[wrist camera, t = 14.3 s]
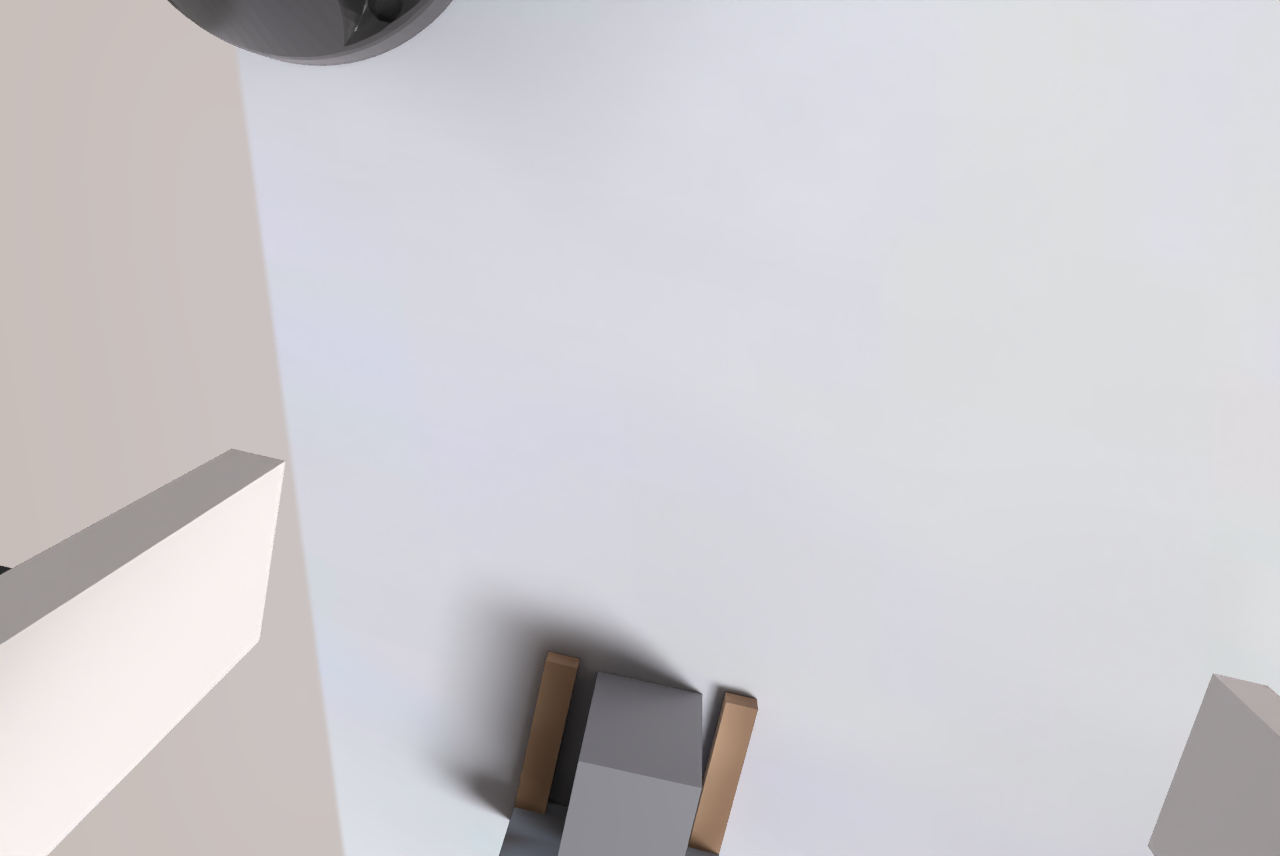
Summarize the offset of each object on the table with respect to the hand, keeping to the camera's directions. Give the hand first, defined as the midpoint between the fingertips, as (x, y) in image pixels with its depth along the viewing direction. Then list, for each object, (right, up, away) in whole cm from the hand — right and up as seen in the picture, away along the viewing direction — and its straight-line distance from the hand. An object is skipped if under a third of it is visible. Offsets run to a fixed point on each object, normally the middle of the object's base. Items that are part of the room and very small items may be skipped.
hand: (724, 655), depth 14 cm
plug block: (-1, -12, +35) cm, 38 cm away
